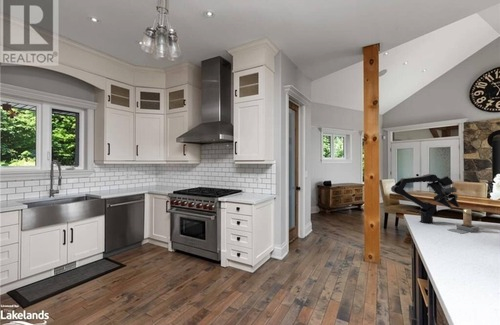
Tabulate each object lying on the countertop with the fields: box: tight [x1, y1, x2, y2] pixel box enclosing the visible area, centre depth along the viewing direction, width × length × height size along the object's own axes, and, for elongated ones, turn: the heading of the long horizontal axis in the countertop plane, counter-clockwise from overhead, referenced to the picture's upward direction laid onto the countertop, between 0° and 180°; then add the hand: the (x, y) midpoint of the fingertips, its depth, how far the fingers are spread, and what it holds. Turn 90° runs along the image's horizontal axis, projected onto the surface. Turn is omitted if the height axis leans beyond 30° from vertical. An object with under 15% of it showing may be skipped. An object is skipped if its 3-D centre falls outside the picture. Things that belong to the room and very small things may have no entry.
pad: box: [447, 228, 469, 235], centre depth 148 cm, size 8×7×1 cm
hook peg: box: [462, 208, 472, 227], centre depth 150 cm, size 4×4×14 cm
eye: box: [455, 223, 480, 234], centre depth 150 cm, size 8×8×3 cm
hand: (454, 207), depth 157 cm, fingers open, 9 cm apart
